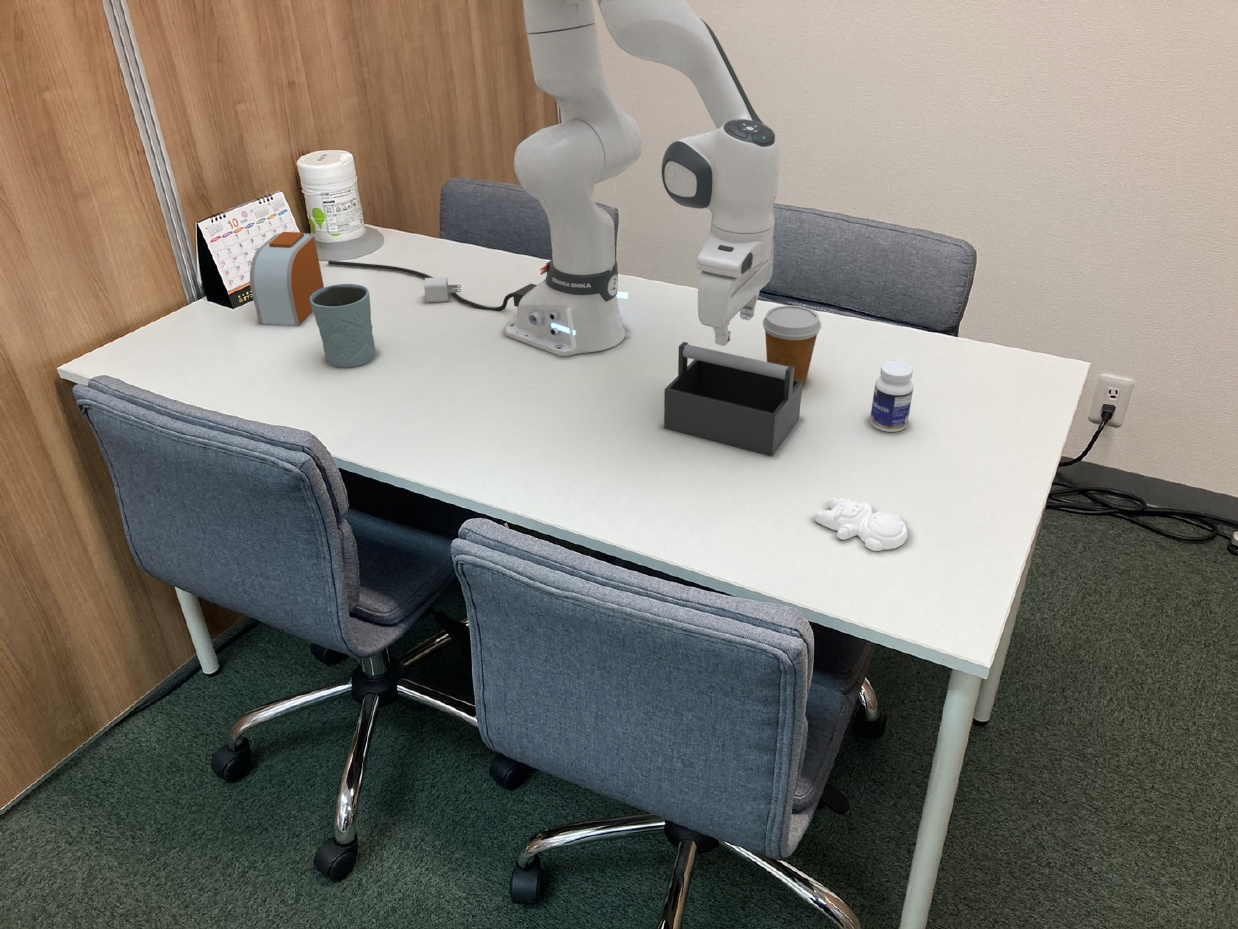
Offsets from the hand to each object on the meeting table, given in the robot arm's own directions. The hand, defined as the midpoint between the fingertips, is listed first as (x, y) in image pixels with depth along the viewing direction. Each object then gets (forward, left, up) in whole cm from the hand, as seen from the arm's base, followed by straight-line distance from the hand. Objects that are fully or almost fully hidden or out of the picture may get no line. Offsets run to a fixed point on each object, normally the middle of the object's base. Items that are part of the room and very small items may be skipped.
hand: (734, 330), depth 147 cm
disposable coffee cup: (+3, +17, -16) cm, 24 cm away
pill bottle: (+22, +11, -16) cm, 30 cm away
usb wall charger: (-70, +19, -16) cm, 74 cm away
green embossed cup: (-70, -9, -16) cm, 72 cm away
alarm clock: (-94, +2, -16) cm, 95 cm away
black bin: (0, 0, -16) cm, 16 cm away
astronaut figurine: (+26, -17, -16) cm, 35 cm away
